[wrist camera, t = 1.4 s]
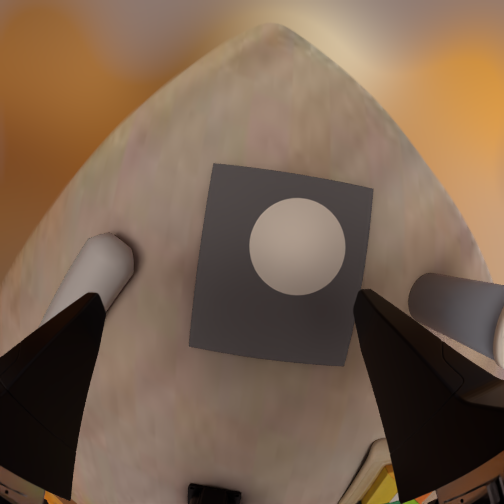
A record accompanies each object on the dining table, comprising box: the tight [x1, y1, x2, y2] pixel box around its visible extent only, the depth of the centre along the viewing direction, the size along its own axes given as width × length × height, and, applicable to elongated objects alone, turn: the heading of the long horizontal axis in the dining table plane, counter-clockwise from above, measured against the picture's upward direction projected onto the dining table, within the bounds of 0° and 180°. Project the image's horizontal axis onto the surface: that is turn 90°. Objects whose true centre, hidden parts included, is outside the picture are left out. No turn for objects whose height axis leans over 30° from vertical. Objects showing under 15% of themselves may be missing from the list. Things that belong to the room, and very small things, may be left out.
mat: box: [189, 163, 373, 366], centre depth 23 cm, size 16×14×1 cm
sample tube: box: [408, 273, 504, 369], centre depth 17 cm, size 5×5×13 cm
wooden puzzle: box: [338, 438, 433, 504], centre depth 22 cm, size 18×19×4 cm
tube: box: [39, 232, 134, 327], centre depth 22 cm, size 5×5×25 cm
